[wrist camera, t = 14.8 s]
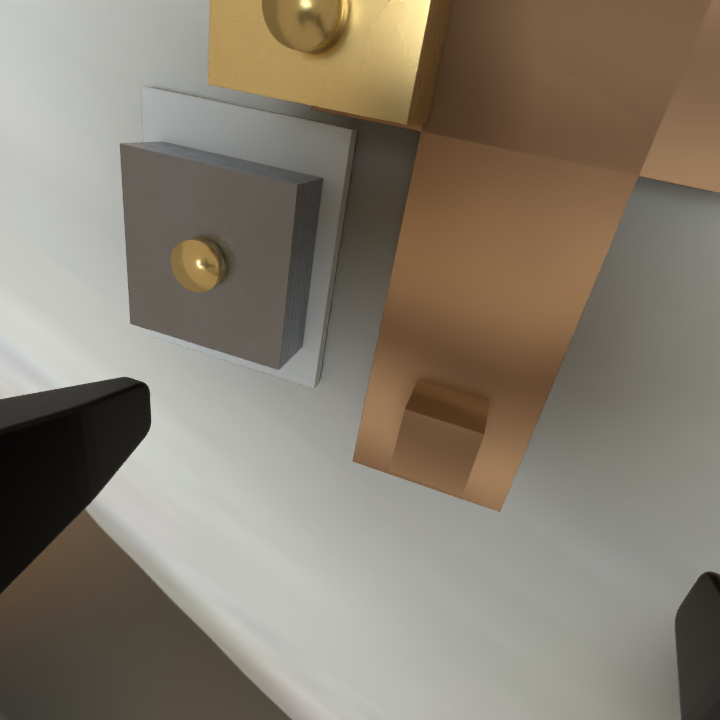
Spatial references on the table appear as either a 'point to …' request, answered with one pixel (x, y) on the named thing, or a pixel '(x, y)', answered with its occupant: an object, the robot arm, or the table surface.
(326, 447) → the table surface
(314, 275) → the mat
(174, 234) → the cap plate
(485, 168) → the plane body
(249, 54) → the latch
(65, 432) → the robot arm
